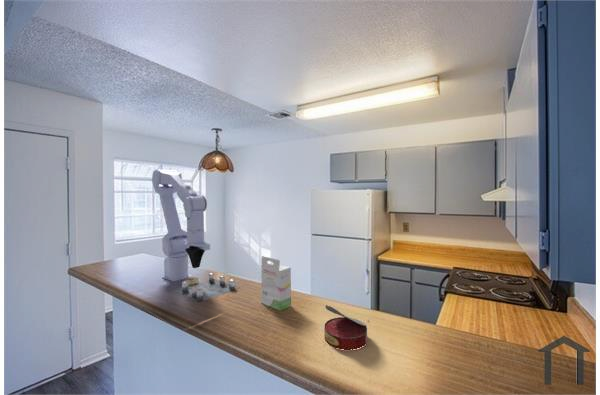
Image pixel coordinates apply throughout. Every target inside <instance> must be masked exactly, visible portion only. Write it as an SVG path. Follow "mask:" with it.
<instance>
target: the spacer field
mask: <svg viewBox="0 0 600 395" xmlns="http://www.w3.org/2000/svg"><path fill="white" fill-rule="evenodd" d="M238 289H241V287H240V286H237V285H236V280H235V279H234V278H231V279H229V280H228V282H226V275H220V276H219V280H218V279H216V278H215V273H214V272H209V273H208V280H206V281H204V282H201V283H200V282H199V283H197V284H195V285H188V281H184V280H183V281H182V282H181V288H180V289H177V290H174V292H175V293H177V294H180V295H182V296H184V297H186V298H189V299H191V300H194V301H196V302H198V303H201V302H204V301H207V300H210V299H212V298H215V297H218V296H222V295H224V294H227V293H229V292H232V291H235V290H238Z"/></svg>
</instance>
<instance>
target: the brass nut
mask: <svg viewBox="0 0 600 395" xmlns="http://www.w3.org/2000/svg"><path fill="white" fill-rule="evenodd" d="M183 281H188V286H193V285H197V284H199V278H198V277H196V276H195V277H194V276H192V277H188V278H185V279H183Z"/></svg>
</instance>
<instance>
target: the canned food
mask: <svg viewBox="0 0 600 395" xmlns="http://www.w3.org/2000/svg"><path fill="white" fill-rule="evenodd" d="M325 309H326V310H327V311H329V312H332V313H333V314H335V315H339V316H340V317H333V318H330V319H329V320H327V321H326V322H325V323H324V341H325V343H326V342H327V343H328V344H329V346H330V347H331V346H332V348H333V347H335V348H334V349H336V348H339V349H344V350H351V349H352V350H353V349H357V348H360V347H362V346H364V345H365V344H366V342H367V343H368V327H367V324H366V323H364V322H362V321H361V320H358V319H356V318H353V317H349V316H347V315H345V314H344V313H341V312H340V311H338V310H337V309H335V308H334V307H332V306H330V305H328V304H326V305H325ZM327 343H326V344H327ZM328 344H327V345H328ZM366 345H367V344H366ZM366 345H365V346H366ZM365 346H364V347H365ZM339 349H338V350H339ZM344 350H343V351H344Z"/></svg>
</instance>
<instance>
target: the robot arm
mask: <svg viewBox="0 0 600 395" xmlns="http://www.w3.org/2000/svg"><path fill="white" fill-rule="evenodd" d="M151 181H152V185H153V189H154V192H155V193H157V194H158V195H159V199H160V204H161V208H162V212H163V216H164V219H165V220H164V221H165V225H166V229H167V232H166V234H165V235H164V236H163V237H162V240H161V242H162V252H163V254H164V255H165V257H164V261H163V266H164V268H163V271H164V272H163V273H164V274H163V275H162V276H161V277H162V278H164V280H165V279H166V280H170V281H172V282H176V281H180V280H184V279H186V278H191V277H193V275H192V274H190V273H189V261H190V263H191V267H192V268H193V269H197V268H200V266H201V263H202V258H203V256H204V253H205V252H206V251H210V250H211V244H210V243H208V242H206V241H205V222H204V221H205V217H204V216H205V215H204V214H205V212H206V210H207V206H208V201H207V198H206V197H205V195H200V194H197V192H196V191H195V190H194V189H193V188H192V186H191V185H190V184H189V185H188V184H186V183H185V182H184V180H183V177H182V172H181V171H180V170H178V169H176V170H173V169H172V170H171V169H158V168H157V169H154V170H153V172H152V177H151ZM175 193H176V195H177V197H178V198H179V200H180V201H181V202H182V203H183V204H182V205H183V210H184V216H185V218H186V231H185V230H183V229H182V226H181V223H180V218H179V214H178V210H177V206H176V203H175V198H174V194H175ZM189 259H190V260H189Z"/></svg>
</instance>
